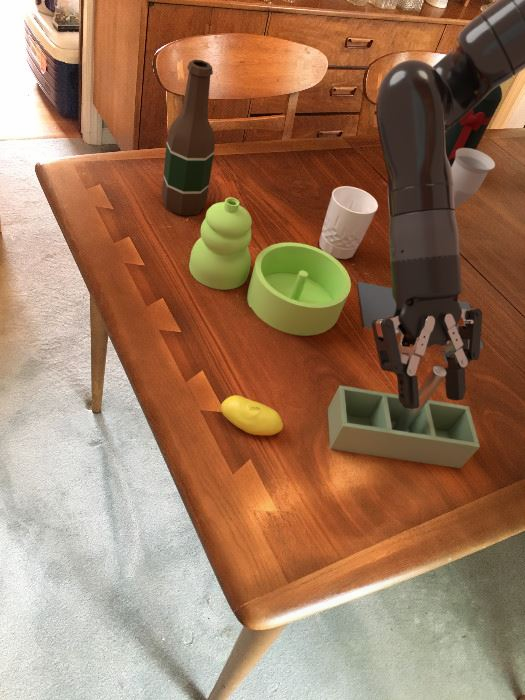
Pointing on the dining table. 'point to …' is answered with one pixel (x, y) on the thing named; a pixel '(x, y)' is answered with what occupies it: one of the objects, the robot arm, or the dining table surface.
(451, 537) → the dining table surface
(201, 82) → the beer bottle
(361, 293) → the mat
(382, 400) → the caddy
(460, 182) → the chalice
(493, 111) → the wine bottle
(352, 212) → the white cup
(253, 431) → the yellow potato
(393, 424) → the metal rod stand
